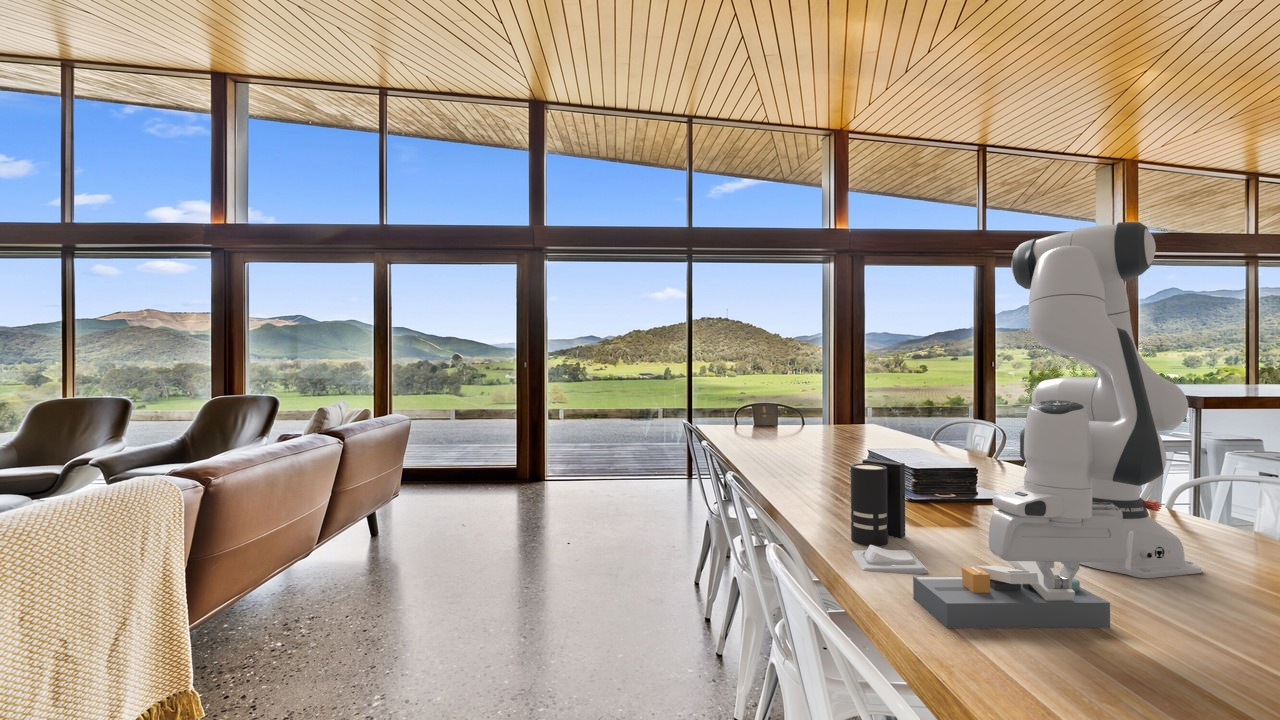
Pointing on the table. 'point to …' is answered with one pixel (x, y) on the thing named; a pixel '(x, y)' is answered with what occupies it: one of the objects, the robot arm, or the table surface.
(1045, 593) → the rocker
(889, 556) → the light switch
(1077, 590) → the button
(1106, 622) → the panel
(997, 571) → the panel
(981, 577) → the slider knob
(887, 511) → the light fixture
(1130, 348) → the robot arm
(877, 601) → the table surface
